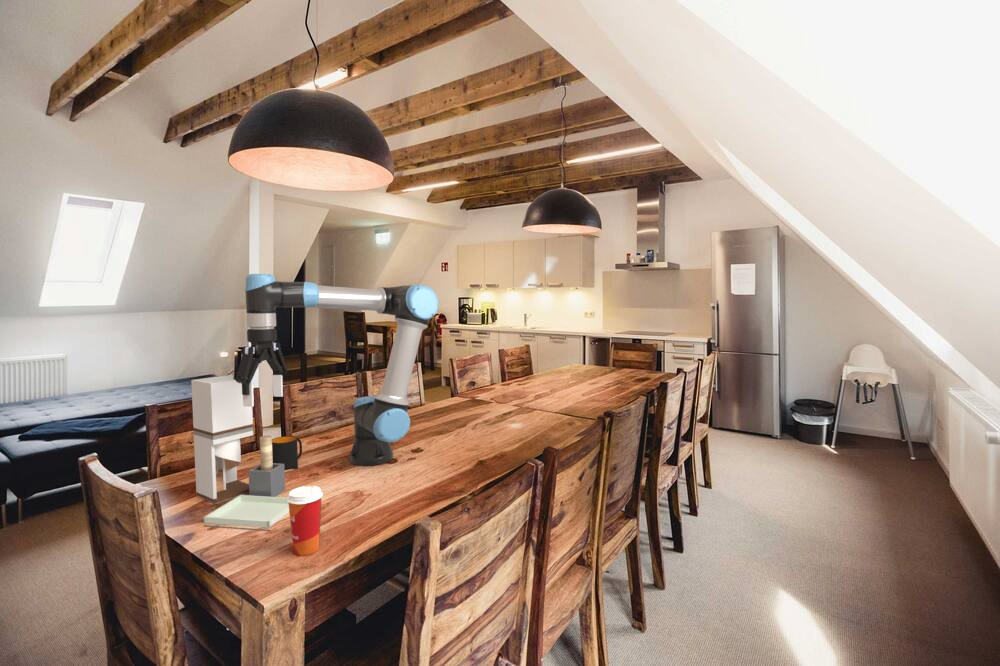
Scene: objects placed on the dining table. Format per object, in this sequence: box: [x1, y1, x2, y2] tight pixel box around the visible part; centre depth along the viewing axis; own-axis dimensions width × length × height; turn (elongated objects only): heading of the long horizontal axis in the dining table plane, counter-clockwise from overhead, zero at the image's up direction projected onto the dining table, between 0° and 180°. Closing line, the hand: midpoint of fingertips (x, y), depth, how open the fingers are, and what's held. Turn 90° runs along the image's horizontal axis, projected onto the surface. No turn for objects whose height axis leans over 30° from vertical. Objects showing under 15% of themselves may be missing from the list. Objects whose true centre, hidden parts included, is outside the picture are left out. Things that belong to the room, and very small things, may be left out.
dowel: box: [259, 435, 273, 471], centre depth 139 cm, size 3×3×17 cm
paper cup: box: [286, 485, 324, 557], centre depth 110 cm, size 8×8×14 cm
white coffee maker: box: [190, 374, 254, 505], centre depth 139 cm, size 11×11×35 cm
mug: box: [272, 435, 303, 471], centre depth 164 cm, size 8×12×10 cm
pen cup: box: [248, 463, 286, 497], centre depth 139 cm, size 7×7×9 cm
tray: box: [203, 494, 290, 532], centre depth 127 cm, size 18×14×2 cm
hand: (264, 401), depth 138 cm, fingers open, 13 cm apart
